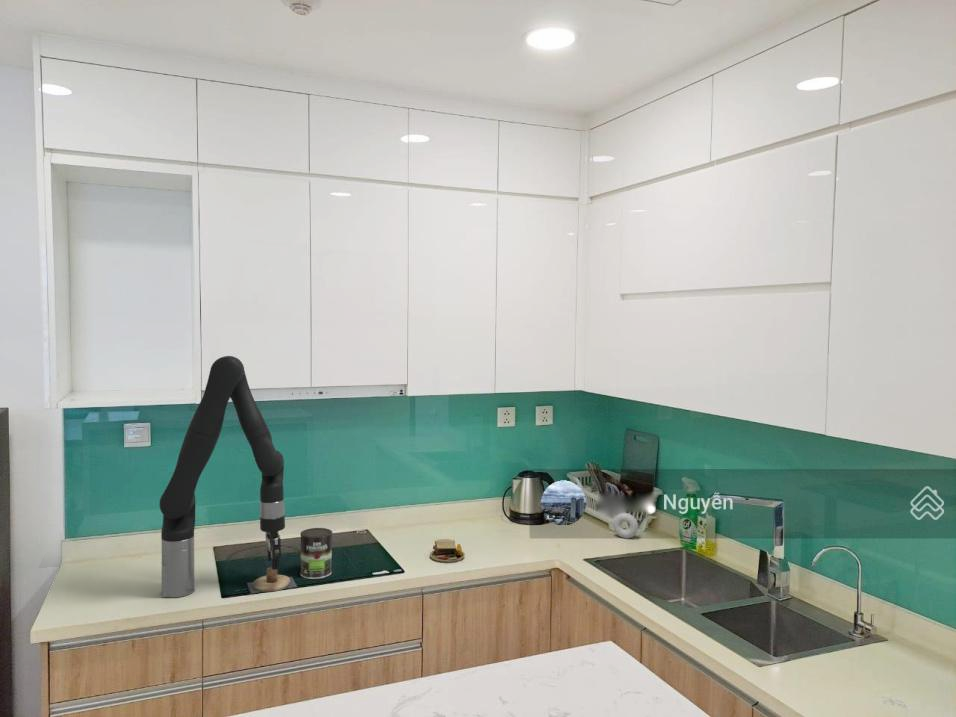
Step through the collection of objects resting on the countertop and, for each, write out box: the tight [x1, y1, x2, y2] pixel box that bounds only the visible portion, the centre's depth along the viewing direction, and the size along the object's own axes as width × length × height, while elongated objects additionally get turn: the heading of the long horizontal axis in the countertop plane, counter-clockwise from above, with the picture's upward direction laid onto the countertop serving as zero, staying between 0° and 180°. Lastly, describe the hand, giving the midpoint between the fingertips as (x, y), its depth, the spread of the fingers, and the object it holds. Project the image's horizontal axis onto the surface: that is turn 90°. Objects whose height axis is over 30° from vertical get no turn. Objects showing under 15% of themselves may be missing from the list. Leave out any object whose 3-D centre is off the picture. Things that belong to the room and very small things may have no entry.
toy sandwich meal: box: [429, 538, 466, 564], centre depth 247 cm, size 12×14×5 cm
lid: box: [253, 566, 290, 593], centre depth 218 cm, size 11×11×5 cm
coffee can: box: [299, 527, 333, 580], centre depth 228 cm, size 10×10×14 cm
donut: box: [612, 512, 639, 539], centre depth 272 cm, size 10×4×10 cm, turn 66°
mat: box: [246, 576, 298, 594], centre depth 218 cm, size 14×9×1 cm, turn 115°
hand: (273, 564), depth 218 cm, fingers open, 8 cm apart
